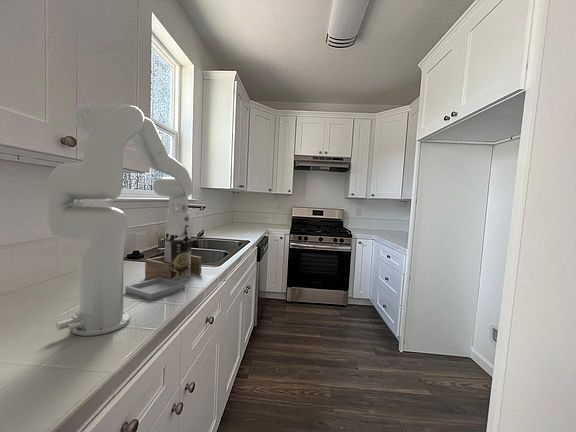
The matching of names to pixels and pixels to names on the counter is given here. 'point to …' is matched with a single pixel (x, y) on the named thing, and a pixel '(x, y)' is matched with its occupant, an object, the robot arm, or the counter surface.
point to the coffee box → (178, 259)
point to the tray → (154, 288)
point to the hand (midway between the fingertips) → (177, 250)
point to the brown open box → (167, 267)
